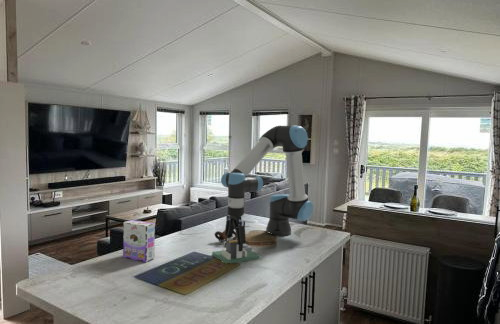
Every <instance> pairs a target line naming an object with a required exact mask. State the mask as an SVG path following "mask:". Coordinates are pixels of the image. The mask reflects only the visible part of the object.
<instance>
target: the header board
mask: <svg viewBox="0 0 500 324" xmlns="http://www.w3.org/2000/svg"><path fill="white" fill-rule="evenodd" d="M212 256H214V257H215V258H216V257H217V258H216V259H218V260H219V259H220V260H221V262H222V261H223V262H224V263H230V264H235V263H236V264H237V263H241V262H247V261H250V260H251V261H252V260H256V259H260V258H261V256H260V254H257V253H256V252H254V251H253V247H252V246H250V245H248V243H247V244H246V243H245V244H243V251H242V258H236V257H235V258H231V254H230V253H229V252H227V251H226V249H221V250H217V251H212ZM220 260H219V261H220ZM223 262H222V263H223ZM224 263H223V264H224Z"/></svg>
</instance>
